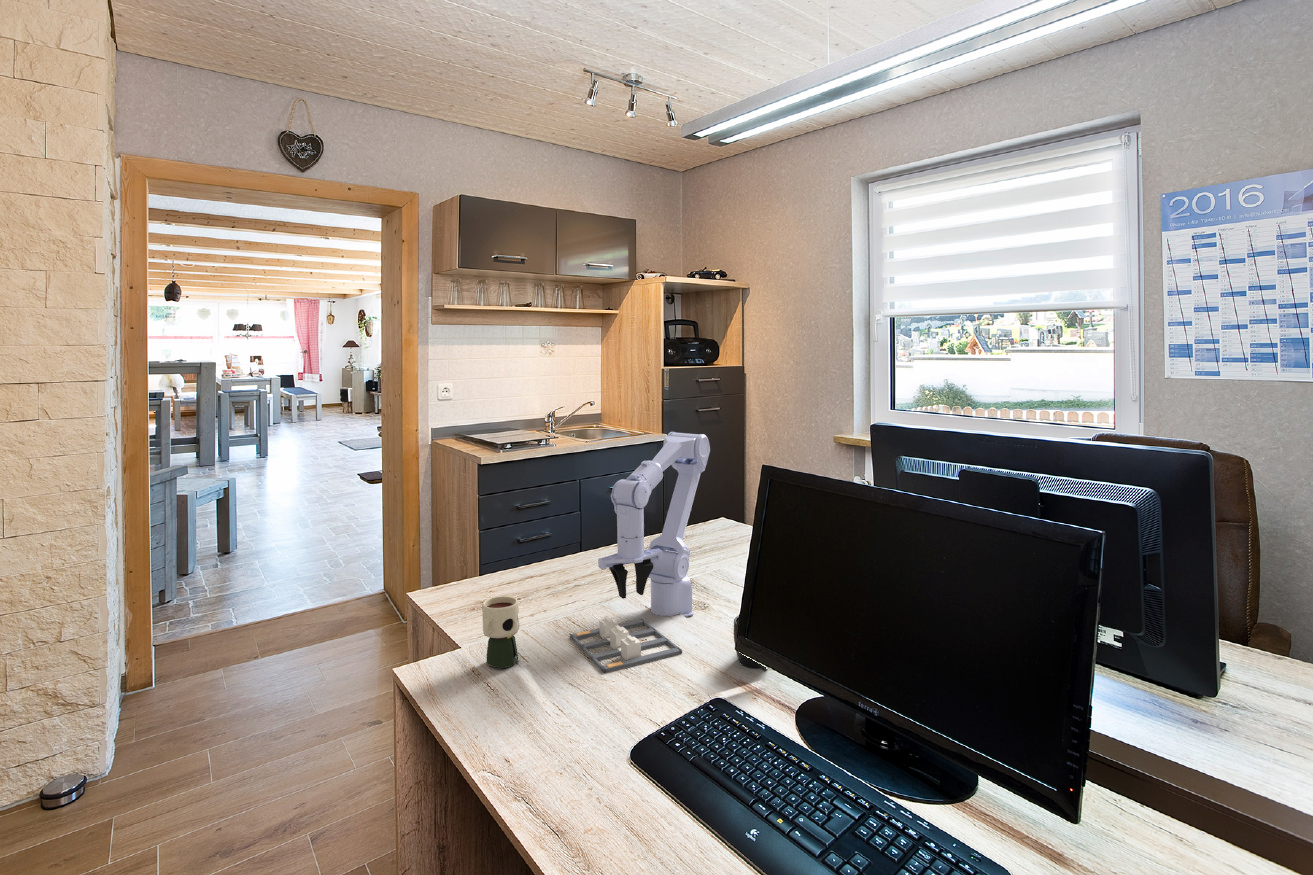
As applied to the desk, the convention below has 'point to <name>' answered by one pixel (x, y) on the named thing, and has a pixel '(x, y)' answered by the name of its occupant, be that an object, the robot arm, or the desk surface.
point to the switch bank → (617, 652)
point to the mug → (743, 659)
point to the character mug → (501, 630)
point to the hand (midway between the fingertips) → (631, 595)
